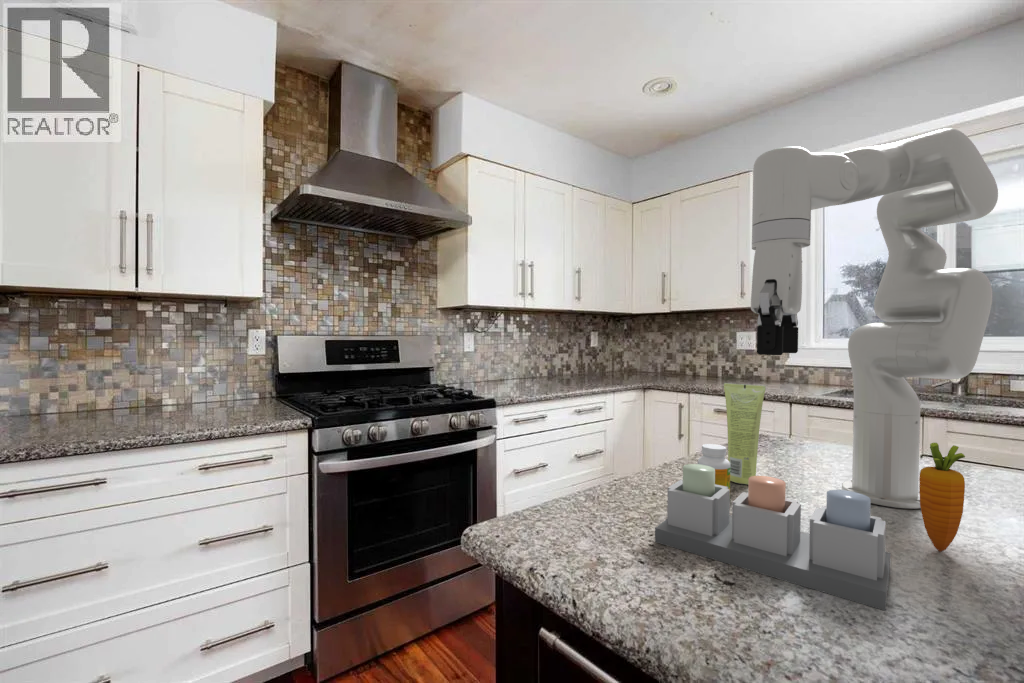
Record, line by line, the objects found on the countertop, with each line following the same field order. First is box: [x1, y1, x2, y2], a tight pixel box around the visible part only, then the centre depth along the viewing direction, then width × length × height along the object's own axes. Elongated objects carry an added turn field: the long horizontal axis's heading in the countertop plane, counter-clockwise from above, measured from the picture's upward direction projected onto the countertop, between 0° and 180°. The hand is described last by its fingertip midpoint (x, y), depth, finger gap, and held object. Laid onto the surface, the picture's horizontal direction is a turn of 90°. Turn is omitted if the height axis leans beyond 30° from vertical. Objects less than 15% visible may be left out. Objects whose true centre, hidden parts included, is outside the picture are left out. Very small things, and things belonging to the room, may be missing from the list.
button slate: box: [826, 489, 872, 532], centre depth 59 cm, size 4×4×5 cm
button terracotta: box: [747, 475, 787, 513], centre depth 65 cm, size 4×4×5 cm
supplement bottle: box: [696, 443, 731, 490], centre depth 85 cm, size 5×5×10 cm
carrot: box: [919, 442, 966, 553], centre depth 66 cm, size 5×5×15 cm
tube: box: [723, 382, 767, 485], centre depth 96 cm, size 6×5×20 cm
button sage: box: [682, 463, 715, 497], centre depth 71 cm, size 4×4×5 cm
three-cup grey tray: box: [654, 479, 892, 611], centre depth 65 cm, size 12×26×7 cm, turn 50°
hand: (778, 353), depth 71 cm, fingers open, 9 cm apart
